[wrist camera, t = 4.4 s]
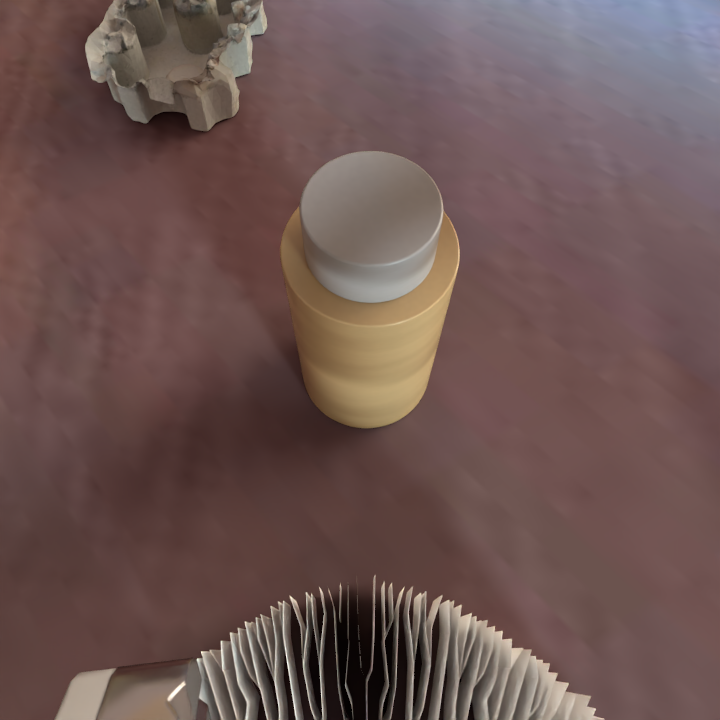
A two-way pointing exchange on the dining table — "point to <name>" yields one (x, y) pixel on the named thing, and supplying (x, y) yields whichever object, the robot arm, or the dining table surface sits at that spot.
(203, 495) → the dining table surface
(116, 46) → the egg carton
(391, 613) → the spiky fractal disc
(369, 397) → the tan bottle
